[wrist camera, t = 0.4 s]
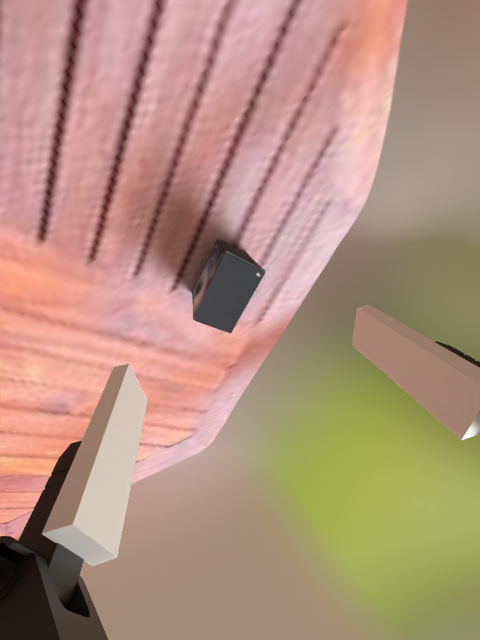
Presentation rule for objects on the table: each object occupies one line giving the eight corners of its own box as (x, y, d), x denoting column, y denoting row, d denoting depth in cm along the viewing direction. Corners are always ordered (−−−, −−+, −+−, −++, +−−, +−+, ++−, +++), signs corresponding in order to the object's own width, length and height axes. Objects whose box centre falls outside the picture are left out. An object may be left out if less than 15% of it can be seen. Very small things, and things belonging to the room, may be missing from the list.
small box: (215, 236, 36) (225, 248, 26) (249, 254, 38) (269, 270, 29) (189, 293, 39) (190, 320, 30) (222, 306, 42) (232, 335, 32)
